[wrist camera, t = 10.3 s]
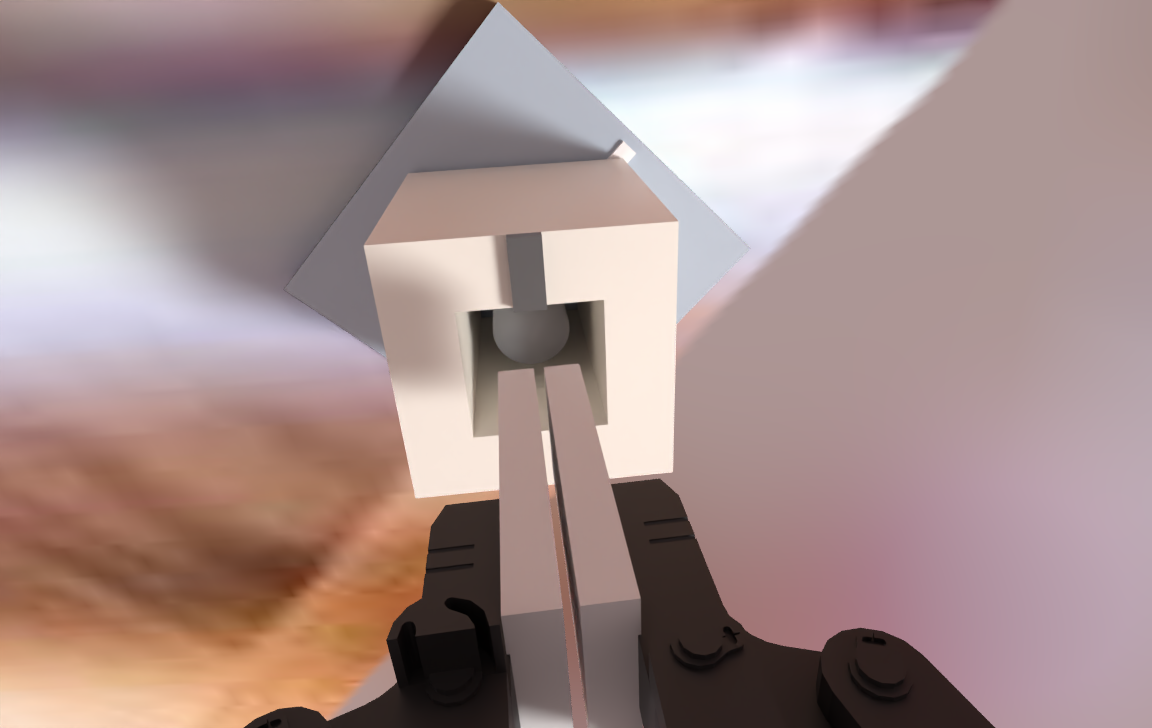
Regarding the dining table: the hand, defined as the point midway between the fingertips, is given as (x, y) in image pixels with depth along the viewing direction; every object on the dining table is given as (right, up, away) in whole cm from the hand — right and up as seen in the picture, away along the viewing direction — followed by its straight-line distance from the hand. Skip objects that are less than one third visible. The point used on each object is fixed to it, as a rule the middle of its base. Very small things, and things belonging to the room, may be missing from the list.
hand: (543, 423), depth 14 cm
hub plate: (-1, +5, +11) cm, 12 cm away
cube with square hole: (-1, +5, +9) cm, 11 cm away
